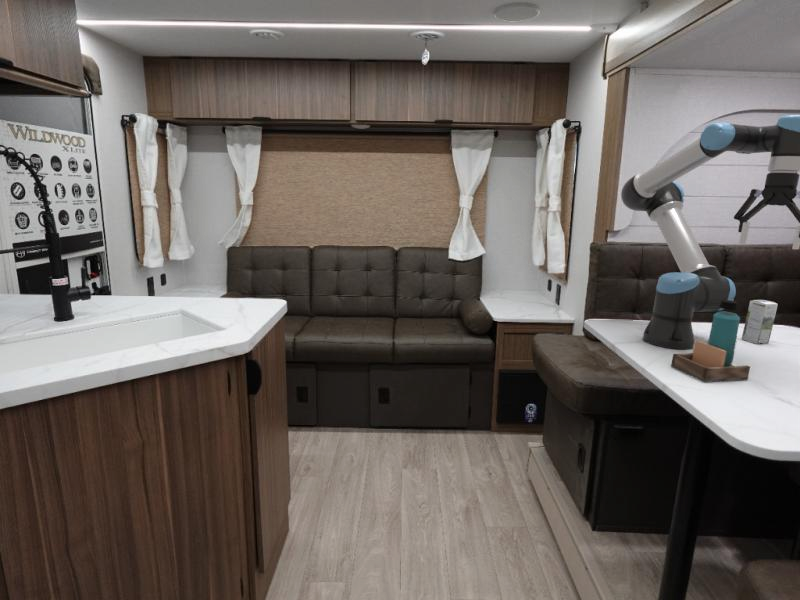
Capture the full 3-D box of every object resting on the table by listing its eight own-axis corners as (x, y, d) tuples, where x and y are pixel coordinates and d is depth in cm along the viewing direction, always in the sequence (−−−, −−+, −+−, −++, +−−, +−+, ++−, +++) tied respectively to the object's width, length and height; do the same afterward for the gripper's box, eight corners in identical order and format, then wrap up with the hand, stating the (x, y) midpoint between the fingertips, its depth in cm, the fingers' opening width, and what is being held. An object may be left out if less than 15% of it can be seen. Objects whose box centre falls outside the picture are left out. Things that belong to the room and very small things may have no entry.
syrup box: (752, 338, 174) (761, 299, 170) (769, 343, 168) (778, 303, 165) (741, 339, 172) (749, 299, 169) (757, 344, 166) (766, 303, 163)
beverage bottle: (734, 375, 134) (749, 304, 129) (707, 372, 135) (721, 302, 131) (724, 367, 140) (738, 299, 135) (699, 364, 141) (712, 297, 137)
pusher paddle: (694, 363, 141) (698, 340, 140) (721, 375, 132) (726, 351, 131) (691, 363, 141) (695, 340, 139) (718, 375, 132) (723, 351, 130)
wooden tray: (710, 364, 144) (713, 352, 144) (747, 379, 133) (750, 366, 132) (671, 366, 141) (673, 353, 140) (704, 382, 130) (707, 369, 129)
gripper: (843, 173, 132) (825, 251, 137) (741, 173, 152) (728, 241, 157) (833, 171, 128) (815, 252, 133) (729, 172, 148) (716, 241, 153)
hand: (767, 246), depth 145 cm, fingers open, 13 cm apart
